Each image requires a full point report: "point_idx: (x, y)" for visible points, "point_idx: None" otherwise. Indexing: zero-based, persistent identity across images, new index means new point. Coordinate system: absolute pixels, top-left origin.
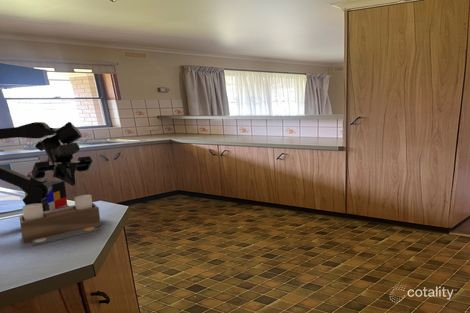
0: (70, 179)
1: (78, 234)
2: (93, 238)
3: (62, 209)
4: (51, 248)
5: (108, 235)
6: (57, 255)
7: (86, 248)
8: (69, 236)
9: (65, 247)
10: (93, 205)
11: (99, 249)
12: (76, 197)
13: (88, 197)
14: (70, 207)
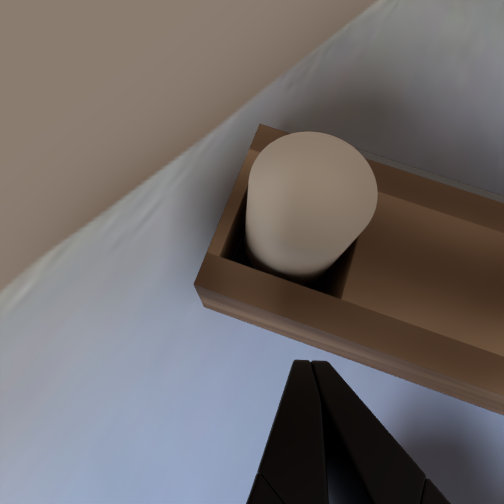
0: (357, 411)
1: (376, 158)
2: (358, 79)
3: (411, 311)
4: (497, 128)
5: (309, 57)
6: (500, 59)
7: (417, 29)
8: (412, 168)
9: (460, 93)
10: (241, 201)
11: None
12: (354, 215)
13: (298, 133)
14: (354, 307)
